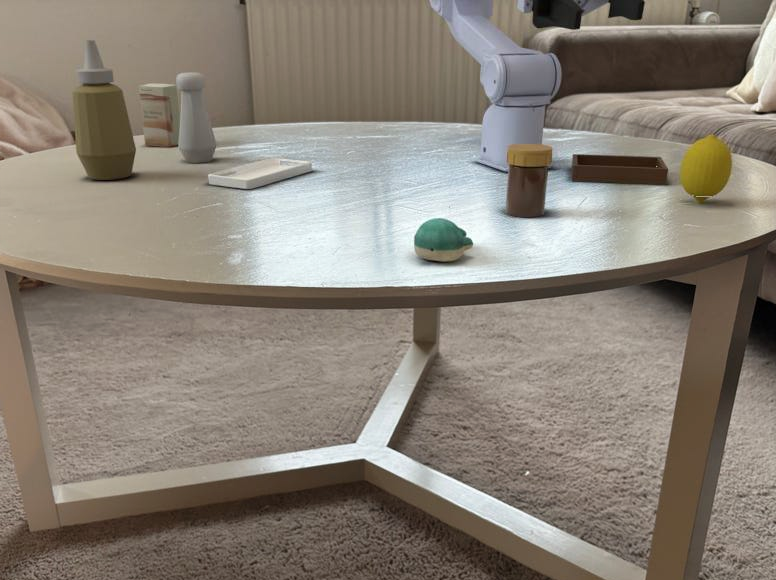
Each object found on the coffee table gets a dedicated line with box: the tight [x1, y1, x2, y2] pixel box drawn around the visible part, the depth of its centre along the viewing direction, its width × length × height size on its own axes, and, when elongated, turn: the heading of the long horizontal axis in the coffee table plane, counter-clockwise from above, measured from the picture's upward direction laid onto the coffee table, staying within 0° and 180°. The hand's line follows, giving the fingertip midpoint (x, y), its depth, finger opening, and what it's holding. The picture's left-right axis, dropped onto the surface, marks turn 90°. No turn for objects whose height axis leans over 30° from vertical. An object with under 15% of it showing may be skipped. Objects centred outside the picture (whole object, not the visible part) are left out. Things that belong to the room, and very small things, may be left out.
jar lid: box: [507, 144, 553, 167], centre depth 85 cm, size 5×5×2 cm
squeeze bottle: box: [72, 39, 137, 181], centre depth 105 cm, size 8×8×18 cm
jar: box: [505, 164, 549, 218], centre depth 86 cm, size 4×4×7 cm
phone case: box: [207, 157, 313, 190], centre depth 107 cm, size 7×1×15 cm
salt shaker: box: [175, 71, 217, 164], centre depth 117 cm, size 6×6×13 cm
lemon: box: [679, 134, 733, 204], centre depth 90 cm, size 6×6×8 cm
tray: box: [571, 153, 669, 186], centre depth 106 cm, size 12×9×2 cm
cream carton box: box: [138, 82, 180, 148], centre depth 132 cm, size 5×4×10 cm
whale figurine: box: [413, 217, 474, 262], centre depth 72 cm, size 6×7×4 cm
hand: (609, 15), depth 86 cm, fingers open, 7 cm apart
